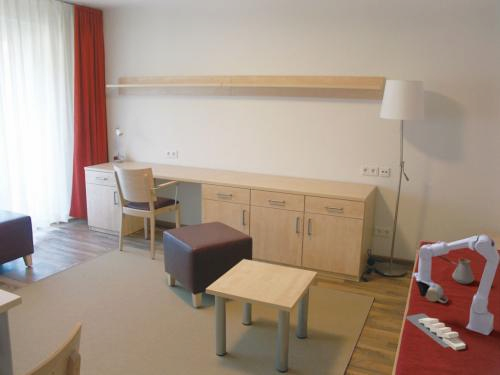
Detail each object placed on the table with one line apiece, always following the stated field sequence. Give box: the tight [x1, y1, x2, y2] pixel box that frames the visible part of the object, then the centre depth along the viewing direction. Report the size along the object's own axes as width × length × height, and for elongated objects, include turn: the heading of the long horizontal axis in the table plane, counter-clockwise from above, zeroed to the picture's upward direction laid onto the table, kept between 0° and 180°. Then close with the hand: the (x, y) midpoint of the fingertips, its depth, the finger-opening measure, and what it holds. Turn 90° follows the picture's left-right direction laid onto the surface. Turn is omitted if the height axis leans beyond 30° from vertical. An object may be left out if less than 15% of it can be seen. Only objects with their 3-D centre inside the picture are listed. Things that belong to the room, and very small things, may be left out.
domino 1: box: [418, 317, 440, 324], centre depth 203 cm, size 2×5×8 cm
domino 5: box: [442, 337, 466, 351], centre depth 187 cm, size 2×5×8 cm
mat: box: [404, 313, 466, 349], centre depth 200 cm, size 28×11×1 cm, turn 16°
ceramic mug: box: [425, 283, 448, 304], centre depth 228 cm, size 11×8×8 cm
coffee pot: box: [434, 255, 475, 285], centre depth 250 cm, size 21×12×15 cm, turn 72°
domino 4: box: [436, 331, 460, 338], centre depth 191 cm, size 2×5×8 cm
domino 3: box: [430, 326, 453, 333], centre depth 195 cm, size 2×5×8 cm
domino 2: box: [424, 322, 446, 329], centre depth 199 cm, size 2×5×8 cm
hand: (422, 295), depth 211 cm, fingers closed
